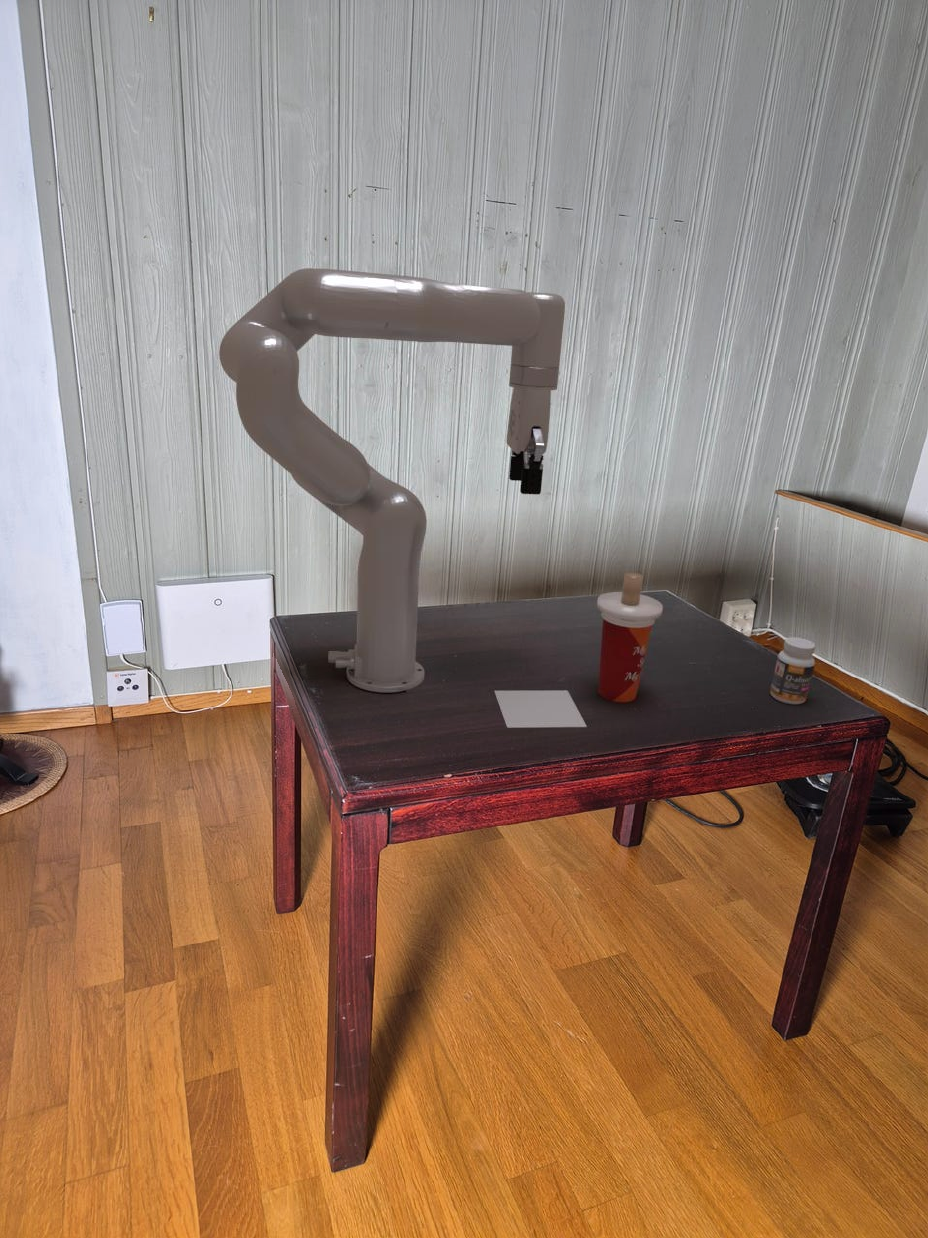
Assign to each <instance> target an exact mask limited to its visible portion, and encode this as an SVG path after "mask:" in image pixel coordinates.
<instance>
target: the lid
mask: <svg viewBox="0 0 928 1238" xmlns="http://www.w3.org/2000/svg"><path fill="white" fill-rule="evenodd" d="M643 581H644V575H643V574H641V573H638V572H632V571H631V572H630V571H629V572H625V573H624V577H623V585H622V591H613V592H605V593H603V594H600V595H599V596H598V597H597V603H596V607H597V609H598V610H599V611H600V612H601V613H602V612H603V613H605V614H607V615H609V616H612V617H616V618H620V619H625V620H633V621H647V620H653V619H654V620H657V619H658V618H660V617H661V616H662V614H663V611H664V610H663V609H664V605H663V604H662V602H660V601H659V600H657V599H656V598H653V597H651V596H648V595H645V594H641V593H642V586H643Z"/></svg>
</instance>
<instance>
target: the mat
mask: <svg viewBox="0 0 928 1238" xmlns="http://www.w3.org/2000/svg"><path fill="white" fill-rule="evenodd" d="M494 695H495V697H496V700H497V702H498V705H499V708H500V711H501V713H502V716H503V720H504V722H505V725H506V727H507V729H509V728H510V729H514V728H515V729H519V728H520V729H521V728H522V729H524V728H525V729H526V728H527V729H528V728H530V729H532V728H534V729H535V728H587V727H588V726H587V724H586V723H585V720H584V718H583V717H582V715H581V713H580V711H579V710H578V708H577V706H576V704H575V701H574V700H573V697H572V696H571V694H570V692H569V691H568V690H566V689H565V690H494Z"/></svg>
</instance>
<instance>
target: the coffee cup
mask: <svg viewBox="0 0 928 1238" xmlns="http://www.w3.org/2000/svg"><path fill="white" fill-rule="evenodd" d="M601 617H602V631H601V641H600V643H601V646H600V657H599V659H600V661H599V674H598V675H599V676H598V695H599V696H601V697H602V698H603V699H606V700H607V701H610V702H616V703H629V702H632V701H634V700H635V699H636V697H637V694H638V689H639V685H640V680H641V677H642V672H643V671H642V670H643V666H644V663H645V659H646V654H647V649H648V644H649V640H650V635H651V629H652V626H653V625H654V624H655V622H656V621H655V620H656V619H653V620H647V621H633V620H625V619H620V618H616V617H612V616H609V615H607V614H605V613H603V612H601Z"/></svg>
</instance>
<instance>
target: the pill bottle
mask: <svg viewBox="0 0 928 1238" xmlns="http://www.w3.org/2000/svg"><path fill="white" fill-rule="evenodd" d="M815 649H816V644H815V642H813V641H811V640H808V639H805V638H801V637H792V636H791V637H787V638H784V643H783V650H781V651H780V652H779V653H778V654H777V659H776V662H775V667H774V672H773V675H772V681H771V686H770V690H769V691H770V693H769V694H770V695H771V697H773V699H775V700H777V701H779V702H781V703H784V704H788V705H800V704H803V703H805V702H806V700H807V697H808V695H809V690H810V686H811V682H812V676H813V674H814V673H813V672H814V670H815V665H816V661H815V659H814V656H813V654H814V652H815Z"/></svg>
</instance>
